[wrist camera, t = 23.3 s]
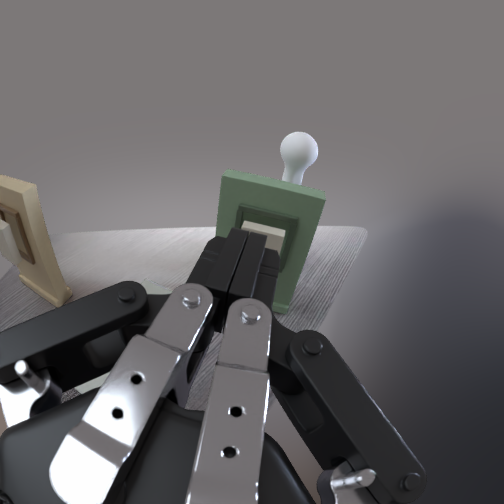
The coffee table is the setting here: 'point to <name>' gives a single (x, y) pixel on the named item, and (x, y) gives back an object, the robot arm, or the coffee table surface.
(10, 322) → the coffee table surface
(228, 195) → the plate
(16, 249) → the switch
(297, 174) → the joystick
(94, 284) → the coffee table surface
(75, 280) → the coffee table surface
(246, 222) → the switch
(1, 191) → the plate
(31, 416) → the robot arm
